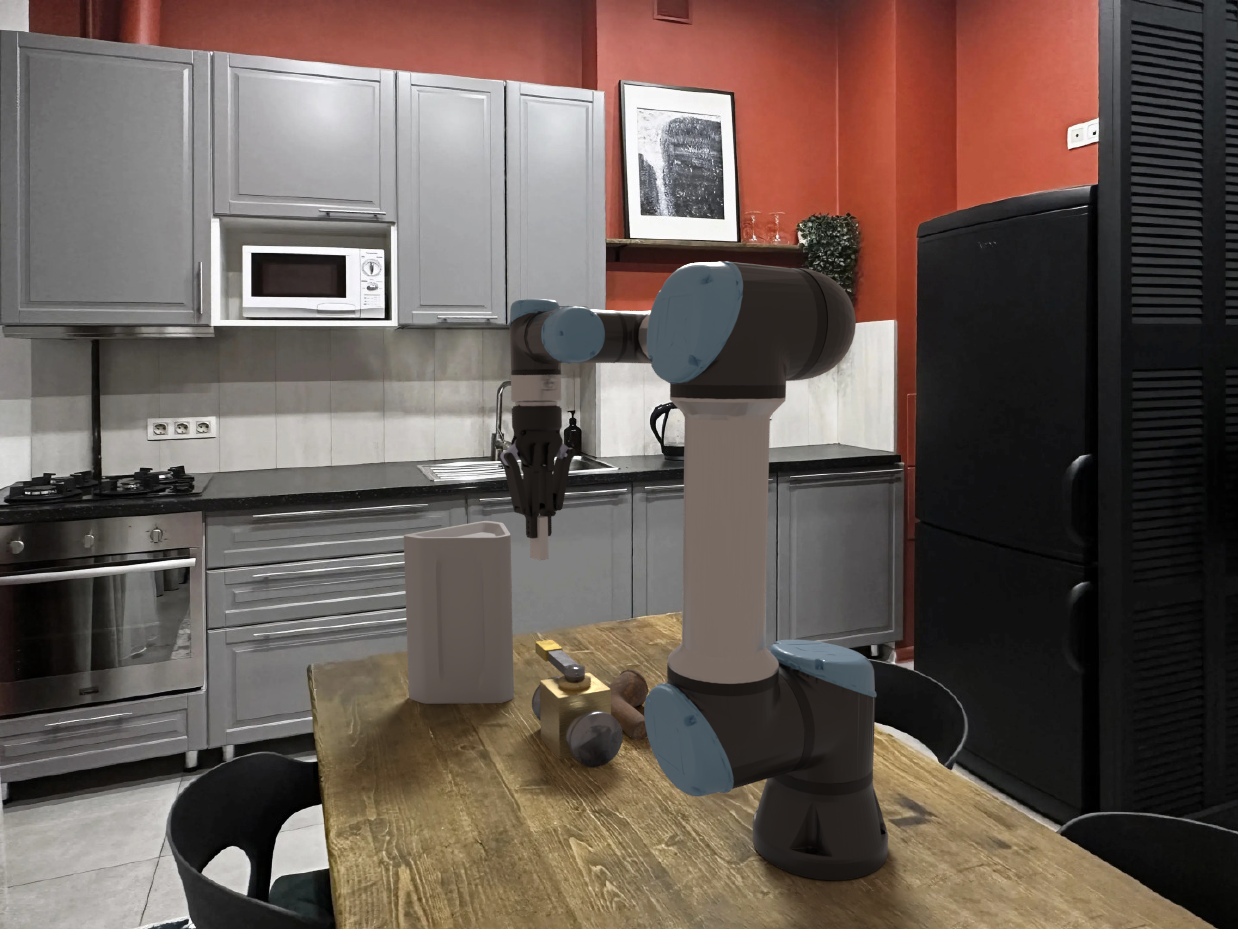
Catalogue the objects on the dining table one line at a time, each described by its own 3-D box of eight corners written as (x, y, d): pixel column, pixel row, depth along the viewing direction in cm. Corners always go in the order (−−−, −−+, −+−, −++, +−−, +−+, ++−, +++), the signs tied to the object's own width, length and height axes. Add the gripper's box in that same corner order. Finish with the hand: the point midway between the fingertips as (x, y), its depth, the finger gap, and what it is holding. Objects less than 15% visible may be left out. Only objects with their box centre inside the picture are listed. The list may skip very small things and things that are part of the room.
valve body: (624, 761, 122) (623, 694, 121) (571, 772, 118) (570, 703, 118) (579, 719, 137) (578, 659, 136) (531, 728, 134) (529, 666, 133)
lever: (587, 680, 126) (587, 667, 126) (568, 683, 125) (568, 670, 125) (552, 650, 140) (552, 639, 140) (535, 652, 139) (534, 641, 139)
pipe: (628, 715, 127) (684, 692, 131) (576, 681, 141) (628, 661, 146) (635, 755, 128) (690, 731, 133) (582, 718, 142) (634, 697, 147)
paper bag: (465, 718, 138) (460, 545, 136) (406, 697, 147) (401, 535, 145) (547, 684, 153) (544, 528, 150) (489, 668, 162) (485, 520, 160)
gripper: (513, 405, 123) (516, 568, 126) (586, 403, 132) (587, 556, 134) (486, 404, 129) (489, 560, 131) (557, 402, 137) (559, 549, 140)
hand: (539, 558), depth 133 cm, fingers closed
